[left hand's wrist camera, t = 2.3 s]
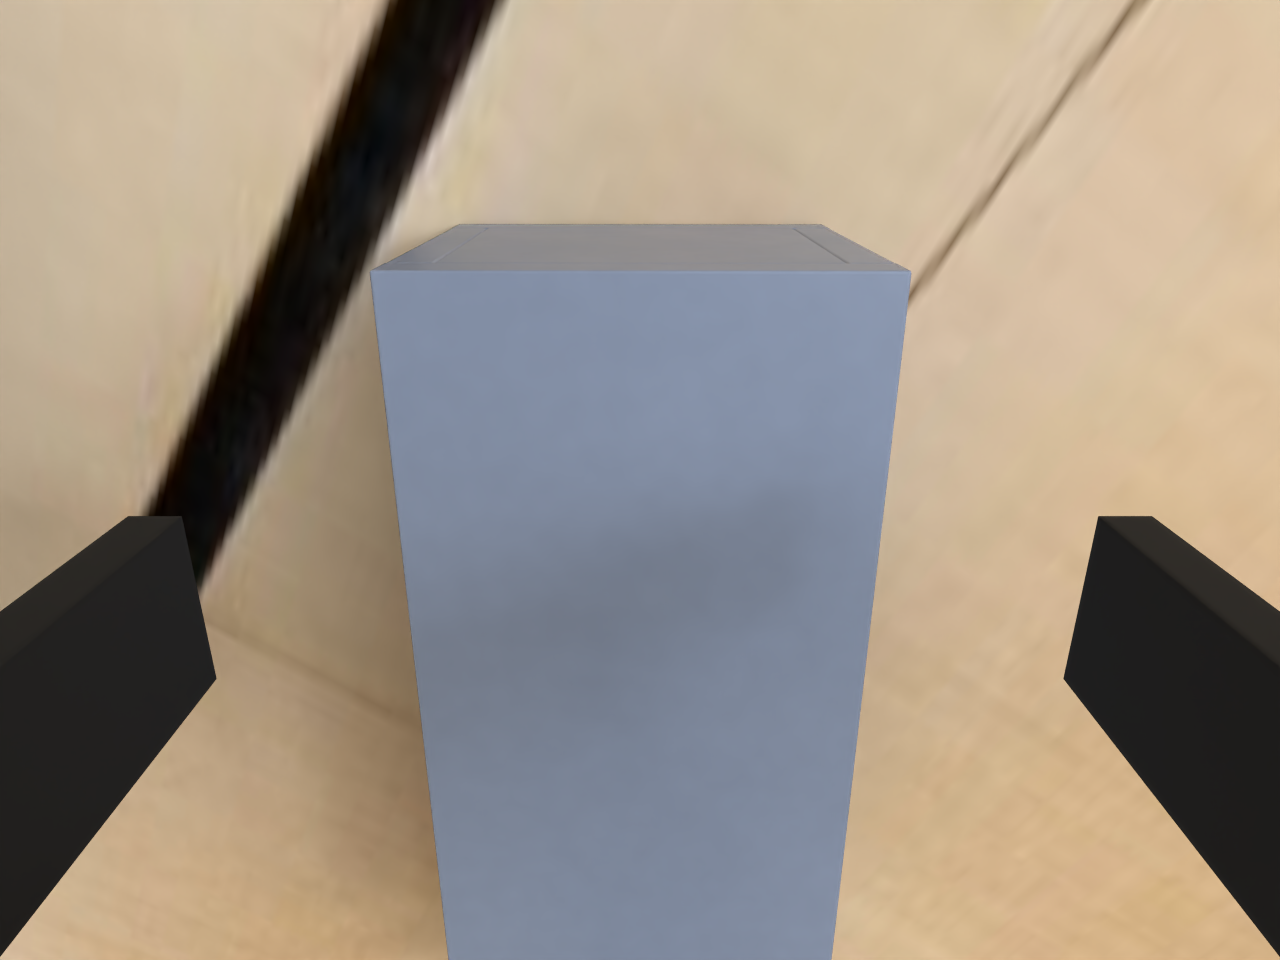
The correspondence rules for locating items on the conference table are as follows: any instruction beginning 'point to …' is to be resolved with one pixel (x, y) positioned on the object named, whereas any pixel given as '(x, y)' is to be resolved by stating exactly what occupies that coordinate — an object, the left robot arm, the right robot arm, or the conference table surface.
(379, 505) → the conference table surface
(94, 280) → the conference table surface
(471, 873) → the cabinet
